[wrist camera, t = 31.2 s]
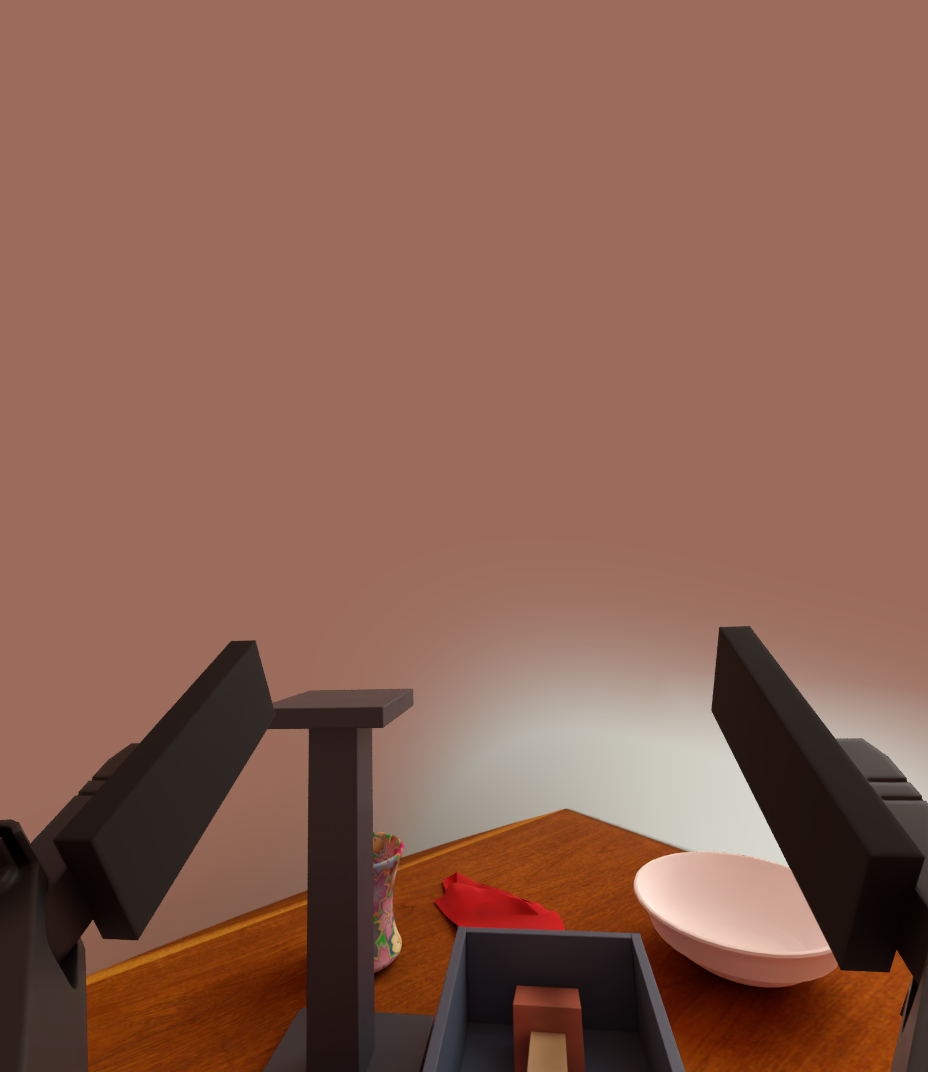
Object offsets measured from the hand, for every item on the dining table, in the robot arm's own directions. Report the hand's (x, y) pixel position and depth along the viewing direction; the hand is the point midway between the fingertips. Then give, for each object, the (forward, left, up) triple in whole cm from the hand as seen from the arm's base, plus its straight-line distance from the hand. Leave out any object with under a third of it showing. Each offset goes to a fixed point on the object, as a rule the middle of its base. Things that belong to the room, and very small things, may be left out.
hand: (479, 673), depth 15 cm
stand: (-15, +29, -33) cm, 46 cm away
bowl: (+20, +46, -33) cm, 60 cm away
